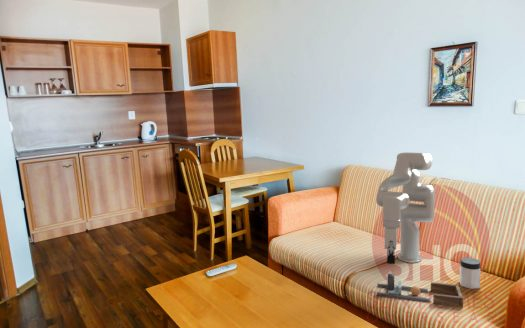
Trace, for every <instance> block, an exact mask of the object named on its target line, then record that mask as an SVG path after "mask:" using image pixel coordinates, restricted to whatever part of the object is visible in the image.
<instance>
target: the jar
mask: <svg viewBox="0 0 525 328" xmlns="http://www.w3.org/2000/svg"><path fill="white" fill-rule="evenodd" d="M481 271H482V269H481V261H480V260H479V259H476V258H474V257H462V258H460V263H459V281H458V282H459V284H460V287H464V288H466V289H469V290H475V289H480V288H481Z"/></svg>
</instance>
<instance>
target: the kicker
mask: <svg viewBox="0 0 525 328" xmlns="http://www.w3.org/2000/svg"><path fill="white" fill-rule="evenodd" d="M394 285H395V274H394V273H387V293H389V294H398V295H402V289H401V286H402V281H401V280H397V286H394Z"/></svg>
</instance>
